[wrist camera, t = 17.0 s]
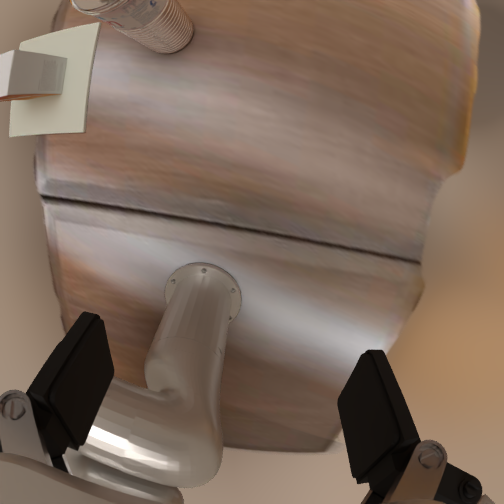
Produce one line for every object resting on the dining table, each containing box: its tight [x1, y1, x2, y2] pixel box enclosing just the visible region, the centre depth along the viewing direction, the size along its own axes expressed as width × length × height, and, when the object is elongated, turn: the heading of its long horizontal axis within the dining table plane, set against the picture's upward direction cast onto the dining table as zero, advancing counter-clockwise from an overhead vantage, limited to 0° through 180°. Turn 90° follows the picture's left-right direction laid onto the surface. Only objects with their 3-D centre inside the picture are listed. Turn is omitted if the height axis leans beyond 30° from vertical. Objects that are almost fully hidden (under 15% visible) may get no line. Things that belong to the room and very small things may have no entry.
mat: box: [9, 22, 101, 137], centre depth 32 cm, size 18×18×1 cm
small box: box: [0, 50, 67, 101], centre depth 26 cm, size 8×6×13 cm
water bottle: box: [69, 0, 194, 54], centre depth 20 cm, size 7×7×25 cm
